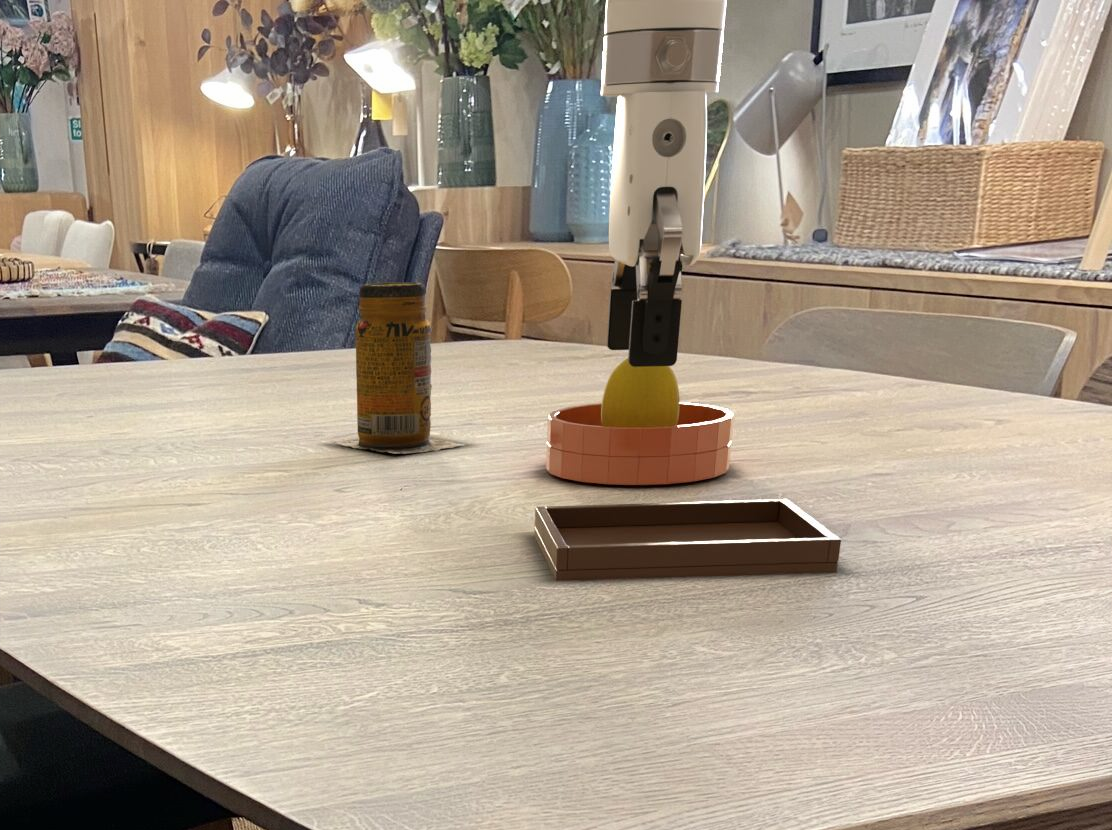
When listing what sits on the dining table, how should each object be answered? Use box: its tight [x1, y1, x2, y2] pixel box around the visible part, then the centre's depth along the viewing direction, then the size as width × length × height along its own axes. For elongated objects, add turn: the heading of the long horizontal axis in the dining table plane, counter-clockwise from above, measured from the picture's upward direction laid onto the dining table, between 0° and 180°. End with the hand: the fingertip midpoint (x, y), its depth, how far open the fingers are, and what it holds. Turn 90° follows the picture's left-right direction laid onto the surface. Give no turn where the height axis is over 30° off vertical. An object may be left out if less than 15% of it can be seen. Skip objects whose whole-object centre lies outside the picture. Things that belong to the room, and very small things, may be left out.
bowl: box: [545, 402, 735, 486], centre depth 104 cm, size 13×13×4 cm
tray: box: [533, 498, 842, 582], centre depth 82 cm, size 15×11×2 cm
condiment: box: [335, 281, 466, 455], centre depth 116 cm, size 7×8×12 cm
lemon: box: [601, 357, 681, 427], centre depth 103 cm, size 6×6×8 cm
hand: (639, 357), depth 102 cm, fingers open, 9 cm apart
